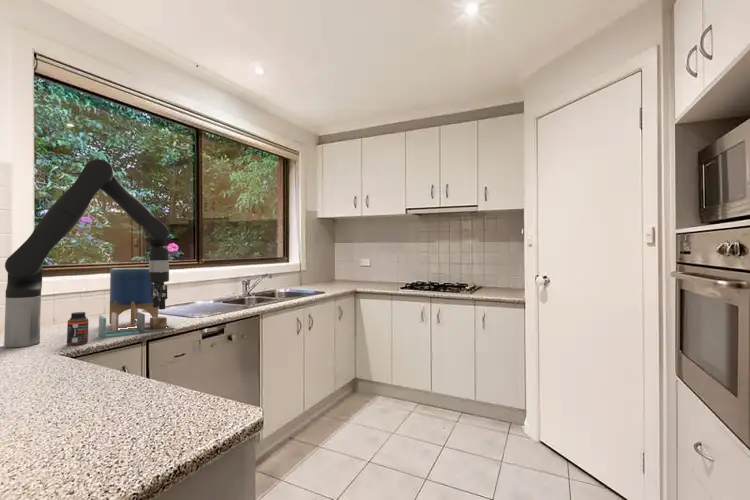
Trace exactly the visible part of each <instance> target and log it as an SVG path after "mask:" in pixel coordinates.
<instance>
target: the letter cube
mask: <svg viewBox="0 0 750 500" xmlns="http://www.w3.org/2000/svg"><path fill="white" fill-rule="evenodd" d="M167 318H168V317H167V316H166V317H165V316H158V317H153V318H152V317H150V319H149V327H150V330H155V329H163V328H166V325H167V320H168V319H167Z"/></svg>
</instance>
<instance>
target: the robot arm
mask: <svg viewBox="0 0 750 500" xmlns="http://www.w3.org/2000/svg"><path fill="white" fill-rule="evenodd" d="M114 172H115V171H114V168H113V166H112V165H111V163H109V162H108V161H106V160H105V159H100V158H95V159H91V160H89V161H87V163H85V165H84V166H83V168H82V170H81V172H80V173H79V175H78V176H77V178H76V180H75V181H74V182H73V184H72V185H71V186H70V187H69V188H68V189H67V190H65V192H63V194H62V195H61V196H59V198H57V200H56V201H54V203H53V204H52V205H51V206H50V208H49V209H48V210H47V211H46V213H45V214H44V215H43V217H42V218H41V219H40V220H39V222H38V223H37V225H36V226H35V227H34V229H33V231H32V232H31V234H30V235H29V237H28V238H27V239H26V240H25V241H24V242H23V243H22V244H21V245H20V246H19V247H18V248H16V250H15V251H14V252H13V253H11V255H9V256H8V257H7V259H6V260H5V263H4V268H5V271H6V272H7V282H6V283H7V284H6V289H5V304H4V306H5V309H4V333H3V334H4V336H3V337H4V341H3V349H9V348H21V347H22V348H23V347H28V346H34V345H38V344H40V342H41V317H42V316H41V311H42V309H41V308H42V305H41V304H42V287H43V270H44V269H43V262H44V261H45V259H46V258H47V256H48V255H49V253H50V252H51V250H52V249H53V248H54V247H55V246H56V245H57V244H58V243H60V241H62V240H63V238H65V237H66V236H67V235H68V234H69V233H70V232H71V231H72V229H73V228H75V226H76V225H77V223H79V221H80V219H81V218H83V215H84V214H85V212H86V211H87V208H88V207H89V206H90V203H91V202H92V199H93V198H94V196H95V195H96V194H97V193H98V191H100V190H101V191H102V192H104V193H105V194H106V195H108V197H109V198H111V199H112V200H113V201H114V202H115V203H116V204H117V205H118V206H119V208H121V209H122V210H123V211H124V212H125V214H127V215H128V216H129V218H131V219H132V220H133V221H134V222H135V223H136V224H137V225H139V226H140V227H142V228H143V229H144V230H145V231H146V232H147V233H148V245H149V246H148V247H149V263H148V268H149V282H154V284H151V297H152V299H153V307H154V308H157V307H158V310H160V311H161V310H166V301H167V300H168V285H167V284H165V283H168V282H169V280H170V264H169V249H168V248H167V244H168V243H167V240H168V238H169V237H170V234H171V232H170V229H169V228H168V226H167V225H165V224H164V223H163V222H162V221H161V220H160V219H159V218H157V217H156V216H155V215H154V214H153V213H152V212H151V211H150V210H149V209H148V208H147V207H146V206H145V205H144V204H143V202H141V201H140V200H139V199H137V197H135V196H134V195H133V194H131V192H129V191H128V190H127V189H126V188H124V186H123V185H122V184H121V183H120V182H119V181H118V179H117V178H116V177H115V175H114Z"/></svg>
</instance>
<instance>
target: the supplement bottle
mask: <svg viewBox="0 0 750 500" xmlns="http://www.w3.org/2000/svg"><path fill="white" fill-rule="evenodd" d="M70 315H71V317H70V318H69V319H68V320H67V327H66V331H67V333H66V344H67V345H68V346H79V345H86V344H87V343H88V341H89V318H87V317H86V312H84V311H79V312H76V311H75V312H71V314H70Z"/></svg>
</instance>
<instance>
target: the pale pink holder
mask: <svg viewBox="0 0 750 500" xmlns="http://www.w3.org/2000/svg"><path fill="white" fill-rule="evenodd" d="M119 316H120V315H119V314H118V313H116V312H114V311H113V312H112V318H111V327H110V330H111V331H119V330H118V328H127V327H135V326H137V324H135V325H131V324H130V325H129V324H128V325H122V326H121V325H120V326H119ZM145 327H150V325H147V324H145ZM128 329H135V330H137V328H128ZM120 330H127V329H120Z"/></svg>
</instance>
